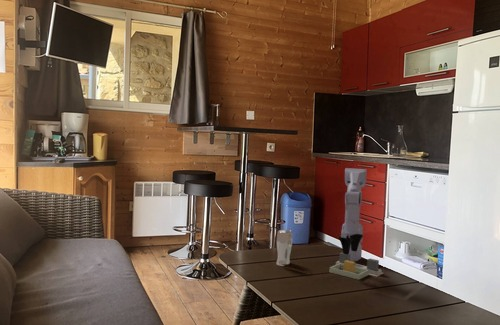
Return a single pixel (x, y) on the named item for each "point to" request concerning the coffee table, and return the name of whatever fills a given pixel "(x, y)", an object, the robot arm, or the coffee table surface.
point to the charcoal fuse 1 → (344, 257)
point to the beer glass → (284, 246)
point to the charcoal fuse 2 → (372, 264)
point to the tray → (336, 270)
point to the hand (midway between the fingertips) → (350, 252)
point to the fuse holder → (371, 272)
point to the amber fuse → (349, 266)
